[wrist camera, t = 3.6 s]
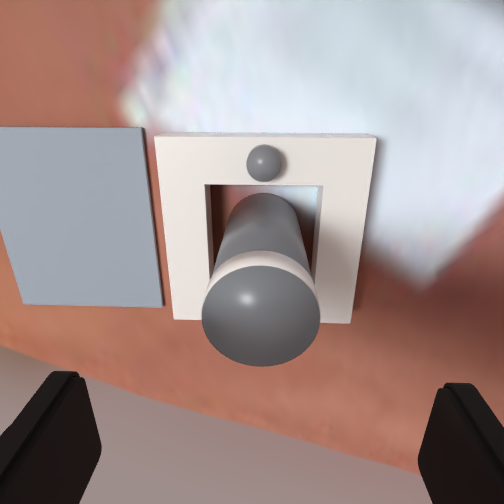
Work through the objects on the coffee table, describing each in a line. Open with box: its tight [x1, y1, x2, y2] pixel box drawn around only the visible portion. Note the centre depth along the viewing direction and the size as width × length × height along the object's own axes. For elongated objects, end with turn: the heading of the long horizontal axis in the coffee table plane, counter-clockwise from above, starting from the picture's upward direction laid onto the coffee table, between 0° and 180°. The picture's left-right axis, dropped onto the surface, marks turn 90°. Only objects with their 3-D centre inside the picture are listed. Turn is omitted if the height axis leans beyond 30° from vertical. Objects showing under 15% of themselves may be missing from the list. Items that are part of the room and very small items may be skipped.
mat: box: [0, 127, 163, 307], centre depth 23 cm, size 10×12×1 cm
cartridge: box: [201, 193, 321, 367], centre depth 18 cm, size 5×5×10 cm
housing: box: [154, 132, 377, 323], centre depth 21 cm, size 12×12×3 cm
